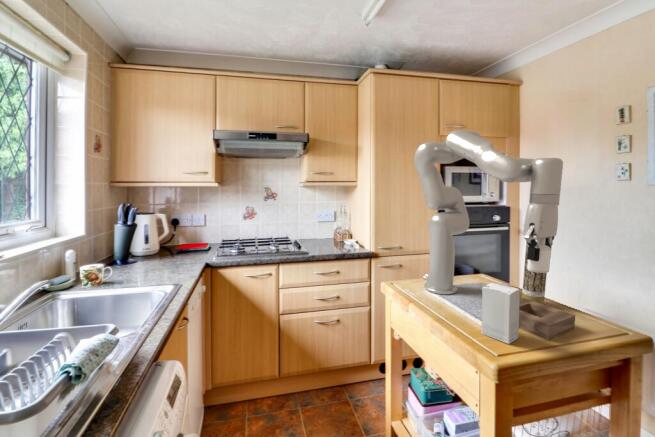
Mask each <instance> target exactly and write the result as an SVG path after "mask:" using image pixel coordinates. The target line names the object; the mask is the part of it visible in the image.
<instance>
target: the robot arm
mask: <svg viewBox="0 0 655 437" xmlns="http://www.w3.org/2000/svg"><path fill="white" fill-rule="evenodd" d="M463 159H466V160H467V161H470V162H471V163H474V164H475V165H476V166H477V168H478V169H480V171H482V172H483V173H485V174H487V175H489V176H491V177H493V178H494V179H496V180H498V181H500V182H504V183H510V184H511V183H530V188H529V198H528V199H529V200H528V205H527V209H526V213H525V218H524V222H523V223H524V224H523V233H522V234H523V236H524V239H525V241H527V246H528V255H527V259H528V260H533V261H539V255H540V248H539V244H540V240H541V238H546V240H545V244H544V245H546V246H549V247H550V248H551V249H552V246H553V245H554V244H553V241H554V240H555V237H556V235H557V233H558V226H559V225H558V224H559V223H558V222H559V206H560V200H561V189H562V177H563V168H564V161H563V160H562V159H561V158H559V157H541V158H540V157H539V158H535V159H534V158H526V157H525V158H523V157H511V156H508V155H506V154H503V153H501V152H499V151H498V150H497V151H496V150H495V149H494V144H493V142H492V141H490V140H488V139H485V138H483V136H482V134H480V133H479V132H477V131H475V130H468V129H467V130H466V129H454V130H452V131H451V132H450V133H448V135H447V136H446V138H445V142H441V141H427V142H424V143H421V144H420V145H419V146H418V147H417V148H416V151H415V153H414V159H413V160H414V161H413V163H414V167H415V168H414V169H415V171H416V172H417V173H416V174H417V176H418V178H419V182H420V185H421V190H422V193H423V196H424V197H423V198H424V200H425V204H426V206H427V207H428V208H429V209H430V210H433V211H440V210H441V211H442V212H437V213H435V214H433V215H432V216H431V217H430V218H429V220H428V224H427V228H428V233H429V265H428V266H429V267H428V268H429V269H428V273H425V274H424V275H423V276H422V279H424V280H426V283H425V284H424V289H425V290H426V291H428V292H430V293H433V294H436V295H452V294H453V295H454V294H455V293H457V292H458V287H457V286H456V285H455V284H454V278H455V276H454V275H455V260H456V258H455V257H456V253H455V252H456V246H455V241H454V239H453V236H456V235H461V234H463V233H466V232H467V230H468V229H469V228H470V217H469V213H468V210H467V207H466V203H465V199H464V197H463V194H462V192H461V191H460V190H459V189H458V188H457V187H455V186H449V185H445V184H444V180H443V177H442V174H441V172H440V171H439V169H438V167H436V165H435V164H441V165H442V164H443V165H445V164H453V163H454V162H458V161H460V160H463ZM443 210H444V212H443ZM534 235H536V237H533V236H534ZM533 239H535V240H536V243H535V241H534V240H533ZM551 257H552V255H551V256H550V258H551Z"/></svg>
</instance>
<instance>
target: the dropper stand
mask: <svg viewBox="0 0 655 437" xmlns="http://www.w3.org/2000/svg"><path fill="white" fill-rule="evenodd" d="M537 316H538V317H537ZM575 322H576V314H573V313H569V312H567V311H563V310H561V309H557V308H555V307H552V306H549V305H547V304H544V305H543V304H540V303H537V302H534V301H531V300H528V299H525V298H522V297H519V330H522V331H525V332H527V333H529V334H532V335H534V336H536V337H539V338H542V339H544V340H546V341H549V340H552V339H554V338H557V337H559V336H561V335H564V334H566V333H568V332H571V331H573V330H575V325H576V324H575Z"/></svg>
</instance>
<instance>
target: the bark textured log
mask: <svg viewBox="0 0 655 437" xmlns="http://www.w3.org/2000/svg"><path fill="white" fill-rule="evenodd" d="M533 237H536V235H534V236H533ZM533 240H534V241H535V243H536V240H535V239H533ZM525 241H526V240H525ZM527 255H528V246H527V241H526V242H525V253H524V264H523V265H524V267H523V277H522V278H523V279H522V291H521V298H525V299H528V300H531V301H534V302H537V303H540V304H543V305H545V295H546V285H547V274H548V272H547V273H537V272H531V271H529V270H528V269H527V264H528V259H527Z"/></svg>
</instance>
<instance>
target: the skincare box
mask: <svg viewBox="0 0 655 437" xmlns="http://www.w3.org/2000/svg"><path fill="white" fill-rule="evenodd" d="M481 289H482V293H481V296H482V297H481V303H482V304H481V335H484V336H487V337H490V338H492V339H494V340H497V341H500V342H503V343H505V344H507V345H510V344H512V343H513V342H515V341H516V340H518V339H519V333H520V332H519V330H520V329H519V299H520V298H521V297H520V290H521V289H519V288H517V287H512V286H508V285H503V284H499V283H496V282H490V283H488V284H486V285H483V286H482V288H481Z"/></svg>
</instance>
